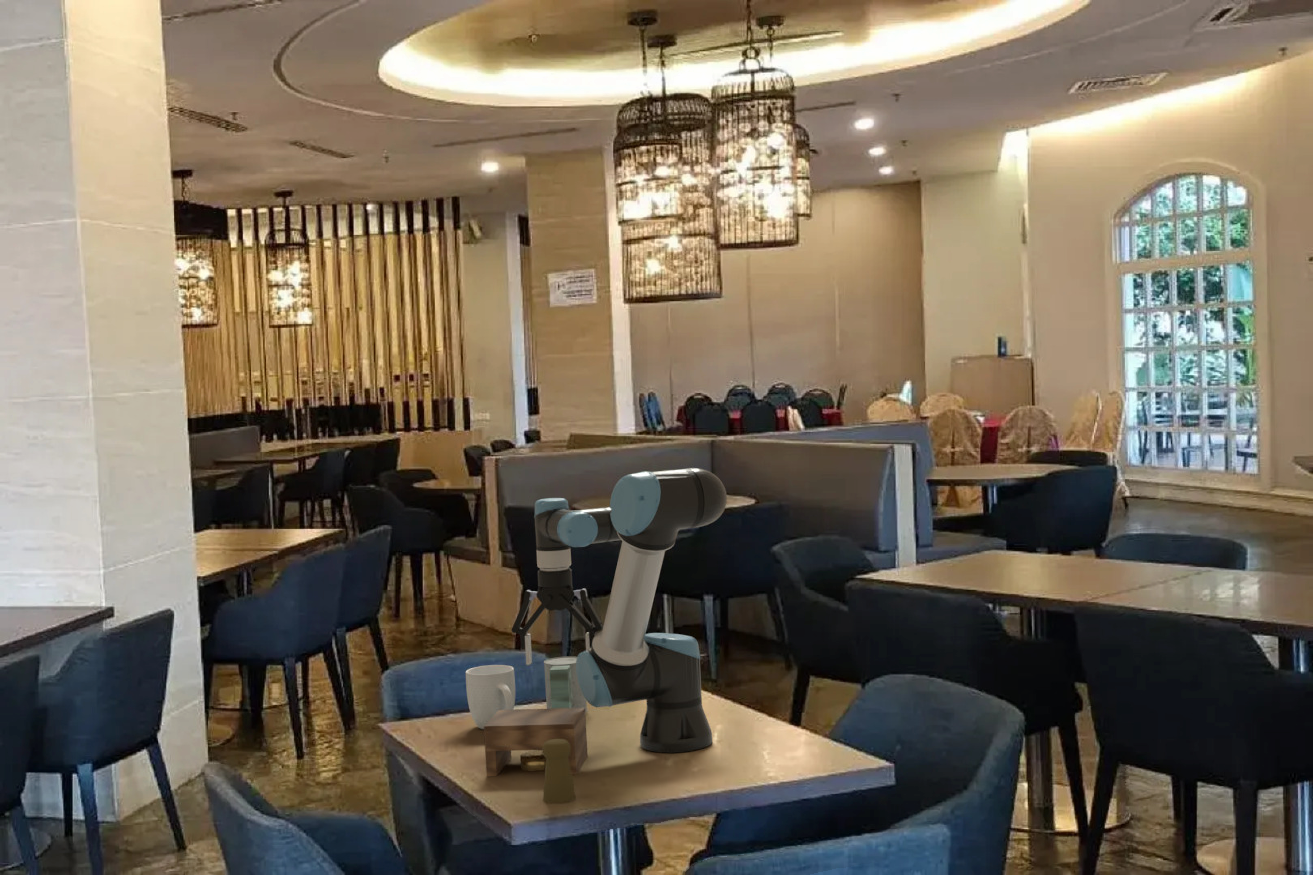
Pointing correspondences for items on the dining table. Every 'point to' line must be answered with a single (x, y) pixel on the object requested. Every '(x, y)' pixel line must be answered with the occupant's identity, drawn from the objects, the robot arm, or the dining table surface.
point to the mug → (489, 691)
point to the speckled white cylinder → (577, 694)
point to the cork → (557, 772)
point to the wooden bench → (534, 734)
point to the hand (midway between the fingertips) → (559, 663)
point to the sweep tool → (561, 687)
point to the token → (533, 760)
